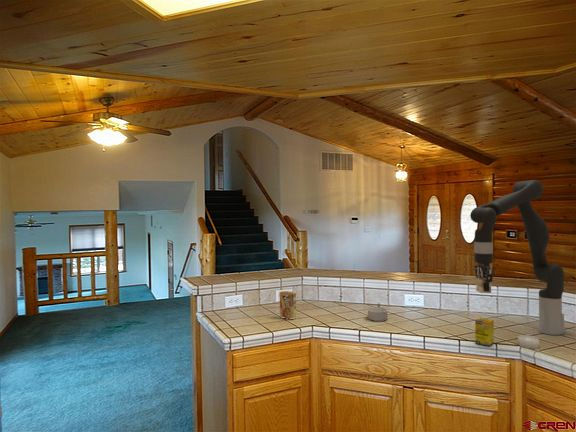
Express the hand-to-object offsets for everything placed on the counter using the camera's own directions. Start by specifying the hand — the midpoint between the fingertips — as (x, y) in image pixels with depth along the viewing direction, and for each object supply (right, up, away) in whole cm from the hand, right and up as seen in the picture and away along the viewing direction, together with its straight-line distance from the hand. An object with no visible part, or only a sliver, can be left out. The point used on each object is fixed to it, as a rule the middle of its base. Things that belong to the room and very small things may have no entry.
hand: (483, 289), depth 173 cm
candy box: (-88, -26, +47) cm, 103 cm away
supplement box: (0, -25, 0) cm, 25 cm away
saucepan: (-37, -25, +46) cm, 64 cm away
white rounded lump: (+18, -24, -3) cm, 31 cm away
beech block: (0, -1, 0) cm, 1 cm away
